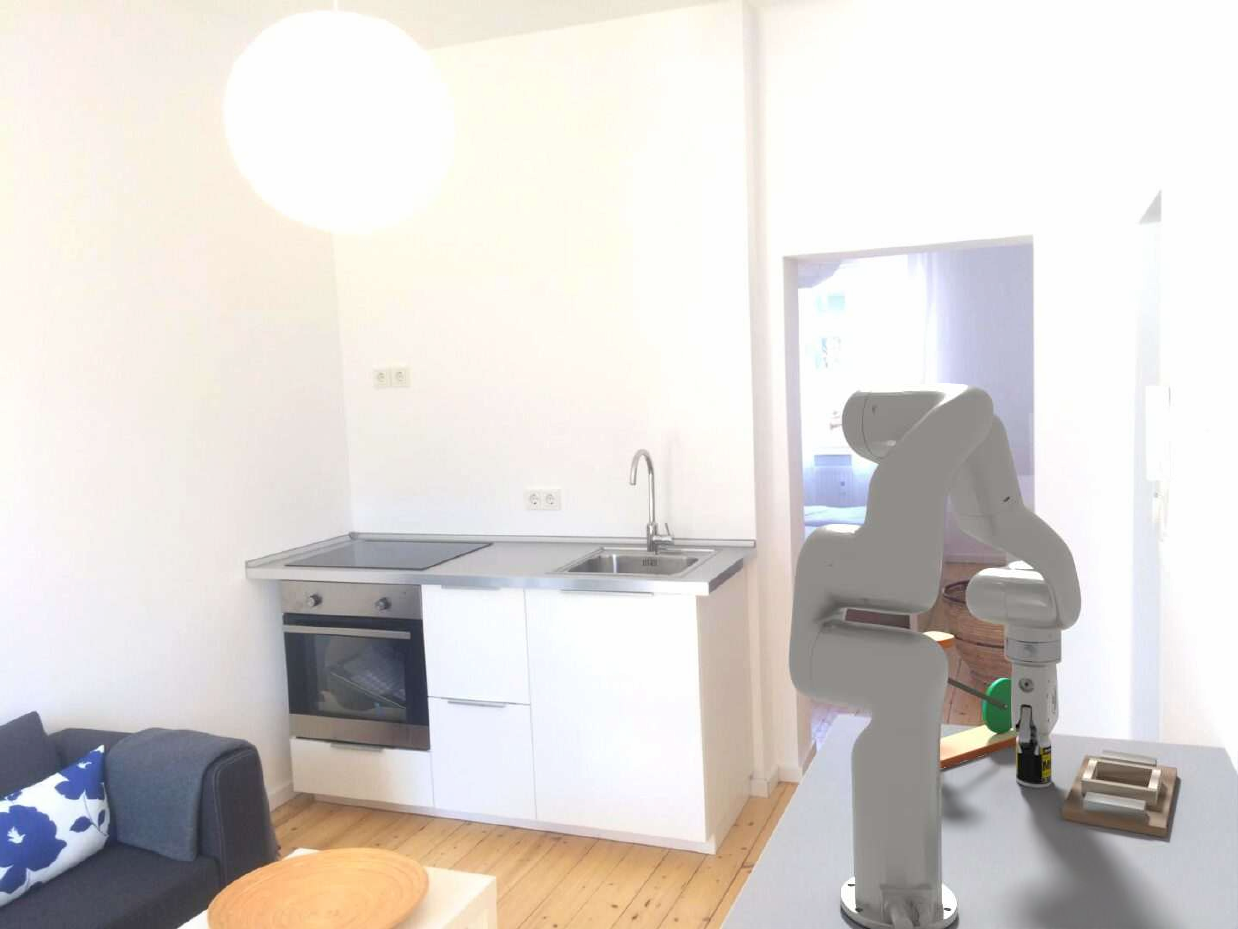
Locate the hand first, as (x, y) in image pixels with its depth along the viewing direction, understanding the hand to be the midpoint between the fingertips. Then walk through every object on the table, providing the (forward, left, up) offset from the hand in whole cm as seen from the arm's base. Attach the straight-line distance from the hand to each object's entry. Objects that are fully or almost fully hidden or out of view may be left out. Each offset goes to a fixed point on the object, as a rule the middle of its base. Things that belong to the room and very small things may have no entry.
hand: (1033, 772), depth 148 cm
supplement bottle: (0, 0, -2) cm, 2 cm away
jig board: (-6, -10, -1) cm, 11 cm away
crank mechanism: (+15, +4, -2) cm, 15 cm away
